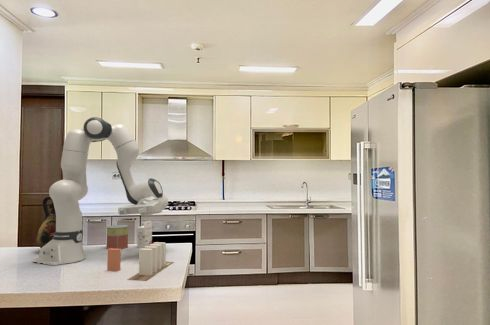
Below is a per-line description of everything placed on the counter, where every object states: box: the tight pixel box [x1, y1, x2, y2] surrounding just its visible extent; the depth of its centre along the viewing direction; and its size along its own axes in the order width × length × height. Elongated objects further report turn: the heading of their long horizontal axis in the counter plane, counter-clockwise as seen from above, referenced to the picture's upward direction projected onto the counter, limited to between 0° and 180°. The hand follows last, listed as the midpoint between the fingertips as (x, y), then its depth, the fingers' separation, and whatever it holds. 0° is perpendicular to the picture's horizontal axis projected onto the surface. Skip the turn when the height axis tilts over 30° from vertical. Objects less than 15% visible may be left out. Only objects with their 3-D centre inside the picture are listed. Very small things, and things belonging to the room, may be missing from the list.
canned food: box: [106, 224, 129, 250], centre depth 176 cm, size 11×11×12 cm
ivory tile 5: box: [138, 248, 153, 275], centre depth 123 cm, size 2×5×10 cm, turn 80°
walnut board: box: [127, 261, 175, 282], centre depth 129 cm, size 8×26×1 cm, turn 170°
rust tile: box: [106, 248, 122, 272], centre depth 129 cm, size 2×5×10 cm, turn 80°
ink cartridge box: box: [136, 220, 153, 249], centre depth 178 cm, size 9×5×15 cm, turn 168°
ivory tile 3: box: [149, 243, 162, 269], centre depth 131 cm, size 2×5×10 cm, turn 80°
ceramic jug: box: [36, 195, 56, 249], centre depth 168 cm, size 17×15×30 cm
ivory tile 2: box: [152, 241, 167, 267], centre depth 135 cm, size 2×5×10 cm, turn 80°
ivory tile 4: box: [143, 246, 157, 272], centre depth 127 cm, size 2×5×10 cm, turn 80°
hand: (128, 212), depth 141 cm, fingers open, 8 cm apart
